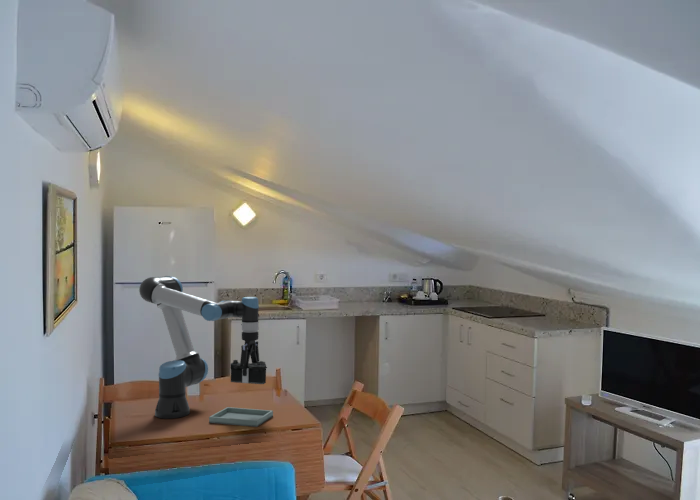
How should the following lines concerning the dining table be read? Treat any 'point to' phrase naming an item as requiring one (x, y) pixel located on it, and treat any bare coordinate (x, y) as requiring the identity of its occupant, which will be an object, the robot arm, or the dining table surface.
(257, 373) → the camera
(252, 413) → the storage tray
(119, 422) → the dining table surface
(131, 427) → the dining table surface
